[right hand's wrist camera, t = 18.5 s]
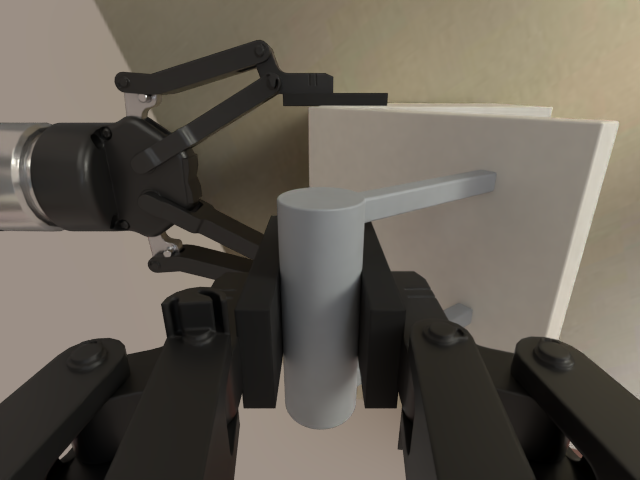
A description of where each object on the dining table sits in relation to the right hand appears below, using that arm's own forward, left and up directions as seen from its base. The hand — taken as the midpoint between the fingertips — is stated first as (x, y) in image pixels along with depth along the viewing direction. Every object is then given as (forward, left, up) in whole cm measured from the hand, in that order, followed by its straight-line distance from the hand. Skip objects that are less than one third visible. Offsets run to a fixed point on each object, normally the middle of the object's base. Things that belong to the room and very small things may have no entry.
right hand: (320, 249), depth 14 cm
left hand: (-1, +4, -13) cm, 14 cm away
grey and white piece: (-1, +4, -4) cm, 6 cm away
